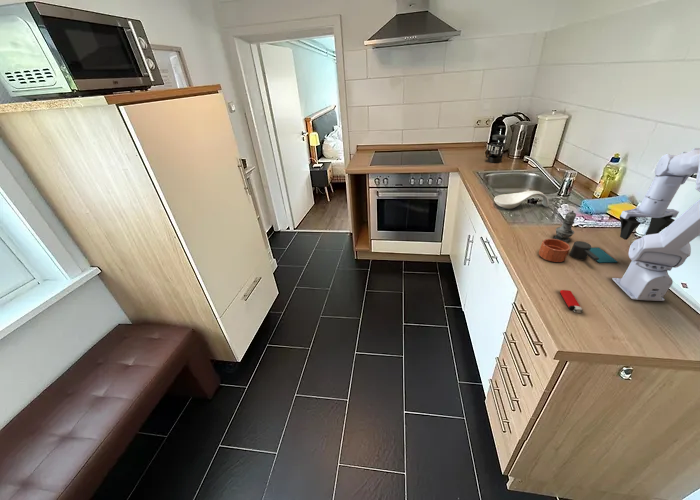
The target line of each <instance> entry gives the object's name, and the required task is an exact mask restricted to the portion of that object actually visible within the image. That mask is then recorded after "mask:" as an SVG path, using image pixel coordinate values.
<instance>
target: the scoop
mask: <svg viewBox="0 0 700 500" xmlns="http://www.w3.org/2000/svg"><path fill="white" fill-rule="evenodd" d="M591 248H592V245H591V244H590V243H589V242H585V241H582V240H576V241H573V244H572V247H571V248H570V250H569V256H570V257H571V258H573V259H576V260H581V261H584V260H586V259H587V257H589V258H590V259H592V260H593V261H595V260H599V258H598V257H597V256H596V255H595V254H593V253H592V252H591V251H590V249H591Z"/></svg>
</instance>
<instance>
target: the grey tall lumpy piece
mask: <svg viewBox="0 0 700 500" xmlns="http://www.w3.org/2000/svg"><path fill="white" fill-rule="evenodd" d="M576 217H577V214H576V212H575V211H574V210H573V209H572V210H571V211H568V212H566V214H565V217H564V219H562V224H561V225H560V226H558V227H556V228H555V234H556V235H553V239H557V240H561V241H563V242H566V243H569V242H571V239H570V238H571V237H572V236H573V235H574V234H575V230H573V228H572V227H573V225H574V224H575V219H576Z"/></svg>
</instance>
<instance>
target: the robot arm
mask: <svg viewBox="0 0 700 500" xmlns="http://www.w3.org/2000/svg"><path fill="white" fill-rule="evenodd" d="M695 174H696V179H695V190H696V191H697V192H699V193H700V147H693V148H691V150H690V151H682V152H680V154H670V153H665V154H663V155H662V156H661V157H660V158H659V160H658V161H657V162H656V165H655V167H654V175H655V176H654V177H653V179H652V181H651V183H650V186H649V187H648V189H647V191H646V193H645V194H644V196H643V198H642V201H641V202H640V203H639V205H637V206H636V208H635V207H634V208H632V209H631V208H630V209H626V210H622V211H621V213H620V215H619V221H620V234H619V237H620V238H621V239H622V240H628V239H629V238H630V237H631V235H632V234H633V232H634V230H636V228H637V227H639V226H640V225H641V224H642V222H640V221H639V220H638V218H642V219H643V218H650V221H649V225H648V228H647V230H646V232H645V234H644V235H643V236H641V237H640V238H637V239H635V240H634V241H632V243H631V244H630V246H629V249H628V258H629V260H631V261H630V262H629V264H628V266H627V268H626V270H625V272H624V274H623V275H622V277H612V278H611V280H612V281H613V282H614V283H615V284H616V285H617V286H618V287H619V288H620V289H621V290H622V291H623V292H624V293H625V294H626V295H627V296H628V297H629V298H630V299H632V300H633V301H656V302H664V301H665V300H666V299H665V298H664V296H665V295H666V293H667V292H668V291H669V290H670V288H671V286H672V285H673V282H674V281H673V279H672V277H671V276H670V275H669V273H668V271H670V272H671V271H672V269H676V268H679V267H680V266H682V265H683V264H684V263H685V262H686V260H687V259H688V258H689V257H690V256H691V253H692V248H691V247H692V246H691V243H690V242H692V241H693V240H695V239H696V238H698V237H699V236H700V198H699V199H697V201H695V202H694V203H693V204H692V205H690V206H689V207H688V208H687V209H686V210H685V211H684V212H683V213H682V214H680V215H679V213H680V211H679V210H677V209H674V208H669V206H670V204H671V203H672V201H673V199H674V197H675V195H676V194H677V193H678V191H679V188H680V187H681V186H682V185H684V184H685V183H687V182H686V181H687V180H688V179H689V178H690V177H691V176H692V175H695ZM678 215H679V216H678ZM677 216H678V217H677ZM674 218H675V219H674Z"/></svg>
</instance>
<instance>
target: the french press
mask: <svg viewBox="0 0 700 500" xmlns="http://www.w3.org/2000/svg"><path fill="white" fill-rule="evenodd" d="M497 127H498V128H500V131H499V134H493V135H492V141H493V142H491V143H488V144H487V148H486V152H485V153H486V154H485V158H486V159H487V160H486V162H487V163H490V164H500V163H502V162H503V154H504V151H505V147H506V143H505V142H503V141H506V140H507V138H508V135H506V134H501V133H502V130H503V128H506V126H505V125H499V126H497ZM500 141H501V142H500Z"/></svg>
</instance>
